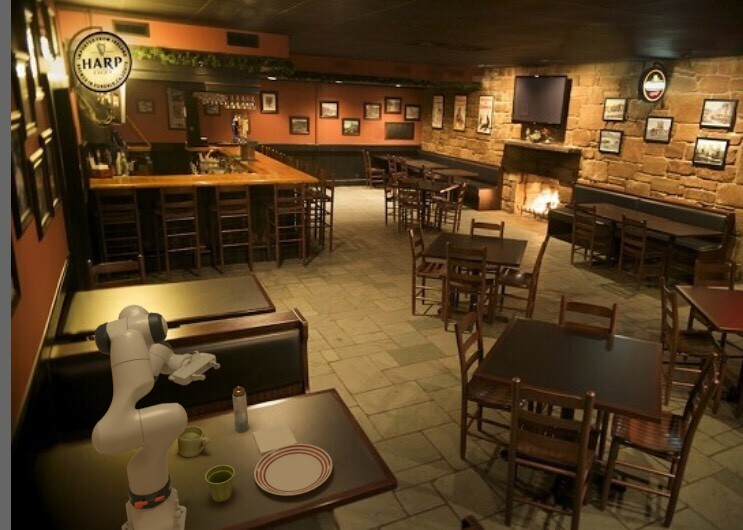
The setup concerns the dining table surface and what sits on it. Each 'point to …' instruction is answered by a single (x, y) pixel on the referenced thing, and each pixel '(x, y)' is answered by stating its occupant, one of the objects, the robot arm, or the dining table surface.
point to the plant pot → (220, 482)
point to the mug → (192, 441)
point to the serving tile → (273, 438)
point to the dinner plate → (293, 469)
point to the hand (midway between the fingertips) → (211, 372)
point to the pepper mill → (240, 409)
